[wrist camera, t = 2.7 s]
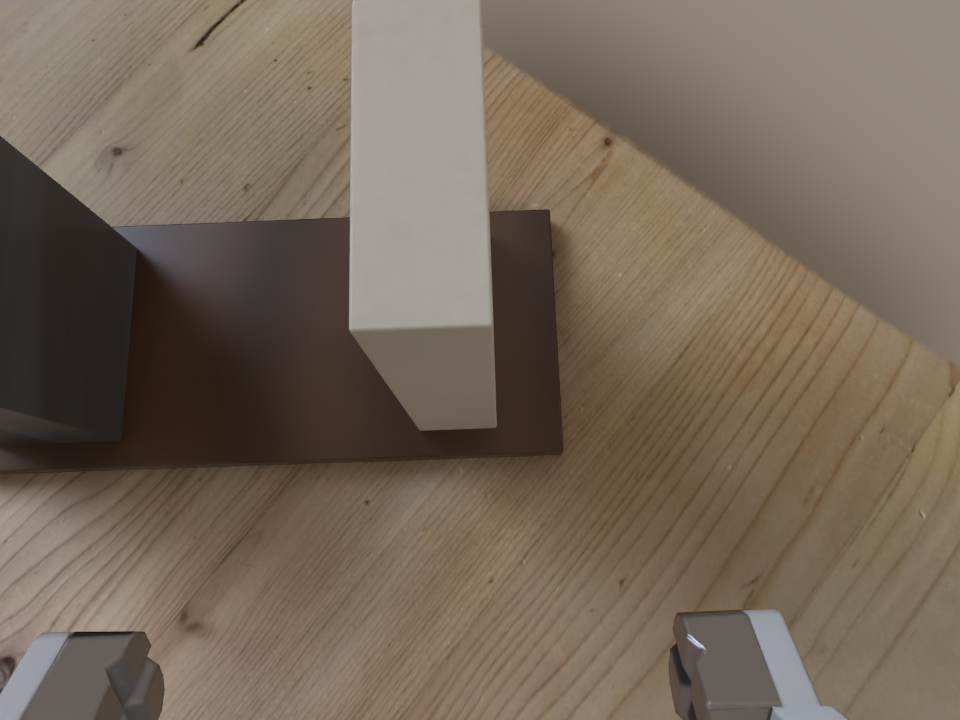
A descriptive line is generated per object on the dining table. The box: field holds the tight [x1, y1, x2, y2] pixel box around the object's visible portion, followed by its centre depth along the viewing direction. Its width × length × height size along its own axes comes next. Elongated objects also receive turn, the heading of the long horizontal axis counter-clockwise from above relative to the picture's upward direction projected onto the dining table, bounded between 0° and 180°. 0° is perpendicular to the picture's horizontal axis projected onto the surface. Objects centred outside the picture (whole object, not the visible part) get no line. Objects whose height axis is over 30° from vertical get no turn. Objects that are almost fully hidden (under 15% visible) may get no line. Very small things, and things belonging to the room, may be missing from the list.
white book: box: [349, 0, 497, 431], centre depth 23 cm, size 3×8×14 cm, turn 2°
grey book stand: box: [0, 136, 563, 474], centre depth 25 cm, size 23×10×13 cm, turn 92°
